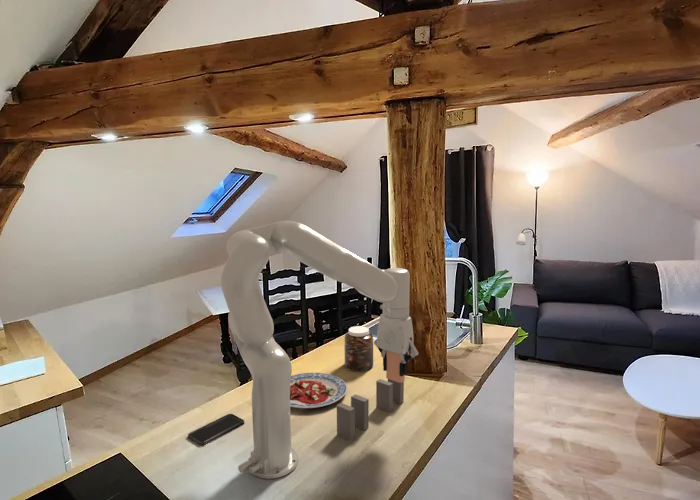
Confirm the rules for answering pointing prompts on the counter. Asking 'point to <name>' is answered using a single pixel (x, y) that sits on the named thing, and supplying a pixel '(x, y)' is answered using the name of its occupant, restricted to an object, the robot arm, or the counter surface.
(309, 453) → the counter surface
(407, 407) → the counter surface
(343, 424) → the domino
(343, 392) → the ceramic plate
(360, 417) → the domino
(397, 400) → the domino
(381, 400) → the domino
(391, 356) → the terracotta domino
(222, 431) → the phone
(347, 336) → the jar
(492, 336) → the counter surface
